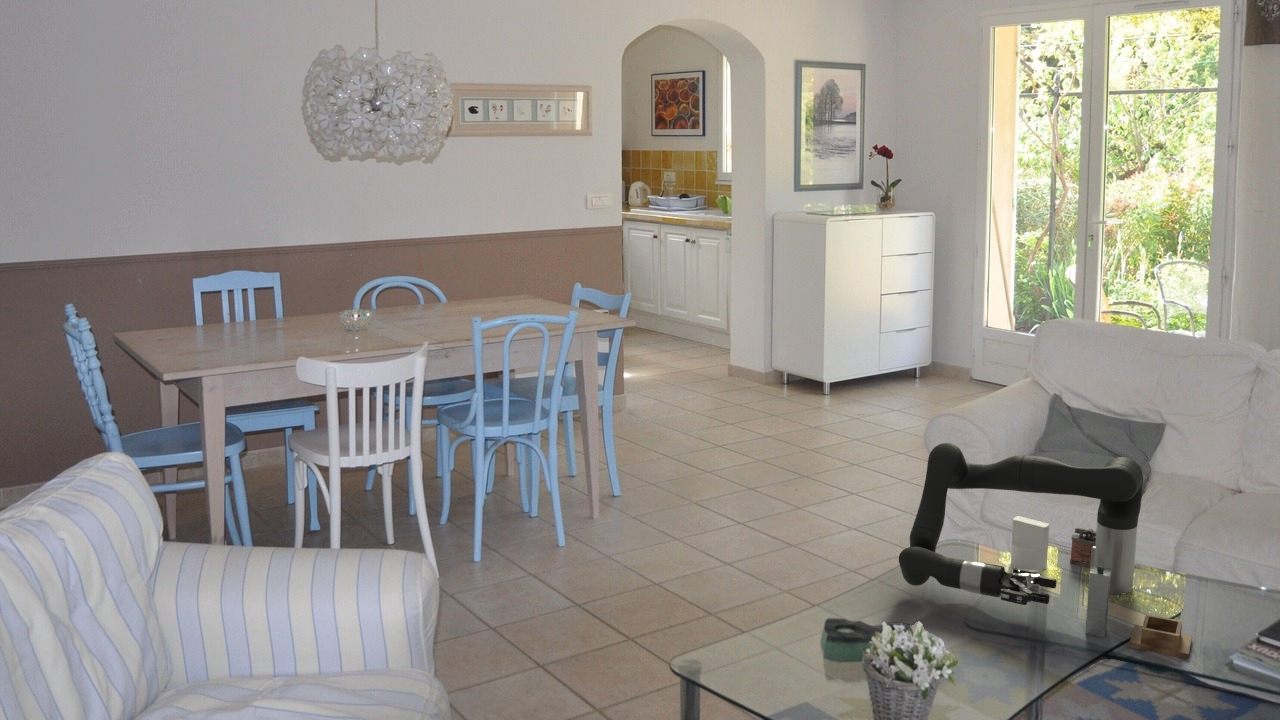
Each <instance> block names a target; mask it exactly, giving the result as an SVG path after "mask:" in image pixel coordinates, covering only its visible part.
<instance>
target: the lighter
mask: <svg viewBox="0 0 1280 720" xmlns="http://www.w3.org/2000/svg"><path fill="white" fill-rule="evenodd" d="M1070 537H1071V539H1070V540H1071V550H1070V552H1071V554H1070V558H1069V563H1070V564H1071V565H1073V566H1076V567H1081V568H1084V569H1085V568H1087V569H1090V565H1091V551H1092V547H1094V546H1095V543H1096V530H1094V529H1092V528H1088V529H1085V528H1081V527H1075V528H1074V534H1071V536H1070Z"/></svg>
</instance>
